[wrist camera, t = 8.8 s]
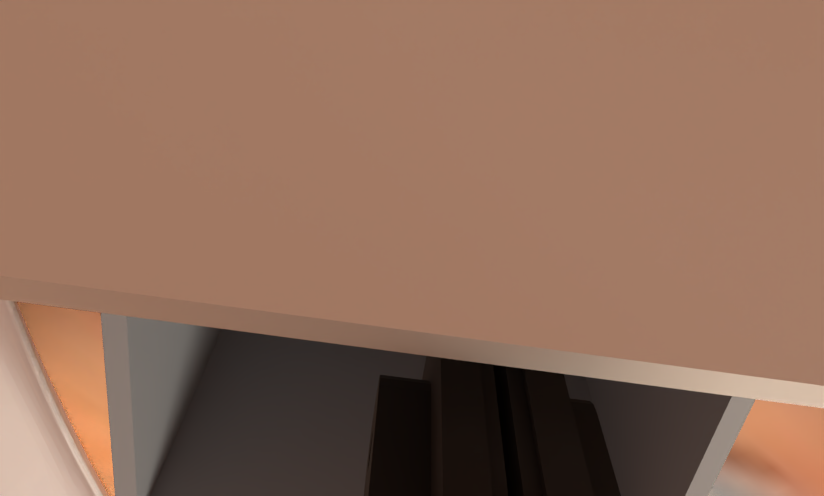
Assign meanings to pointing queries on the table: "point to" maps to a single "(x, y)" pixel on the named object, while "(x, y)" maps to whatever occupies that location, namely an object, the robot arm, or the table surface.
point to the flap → (433, 178)
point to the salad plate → (35, 423)
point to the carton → (343, 416)
